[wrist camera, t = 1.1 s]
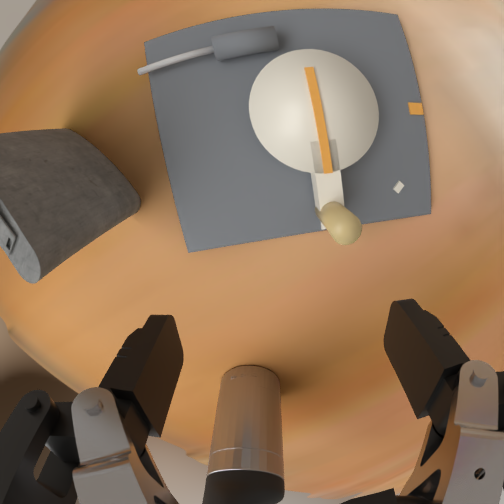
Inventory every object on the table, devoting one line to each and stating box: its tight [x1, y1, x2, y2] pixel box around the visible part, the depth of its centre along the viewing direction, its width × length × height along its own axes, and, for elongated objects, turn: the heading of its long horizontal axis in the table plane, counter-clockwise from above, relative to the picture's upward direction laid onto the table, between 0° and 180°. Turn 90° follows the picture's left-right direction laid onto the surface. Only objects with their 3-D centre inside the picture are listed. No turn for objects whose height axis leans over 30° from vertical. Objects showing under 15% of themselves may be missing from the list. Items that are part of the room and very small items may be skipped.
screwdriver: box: [138, 26, 279, 75], centre depth 21 cm, size 14×3×3 cm, turn 101°
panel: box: [144, 9, 431, 253], centre depth 25 cm, size 25×29×2 cm
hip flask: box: [0, 129, 141, 283], centre depth 19 cm, size 16×4×20 cm, turn 47°
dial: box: [249, 49, 379, 245], centre depth 21 cm, size 17×12×7 cm
